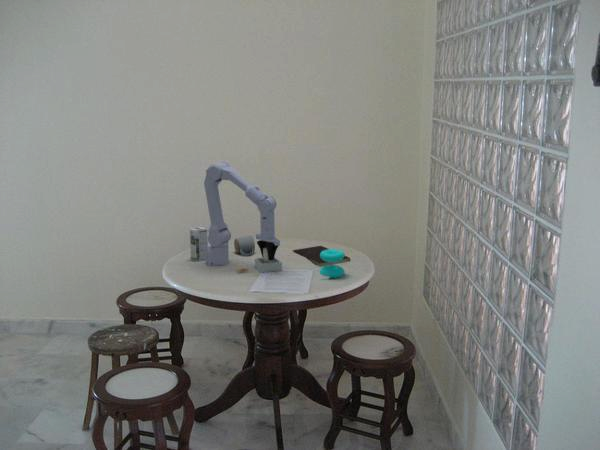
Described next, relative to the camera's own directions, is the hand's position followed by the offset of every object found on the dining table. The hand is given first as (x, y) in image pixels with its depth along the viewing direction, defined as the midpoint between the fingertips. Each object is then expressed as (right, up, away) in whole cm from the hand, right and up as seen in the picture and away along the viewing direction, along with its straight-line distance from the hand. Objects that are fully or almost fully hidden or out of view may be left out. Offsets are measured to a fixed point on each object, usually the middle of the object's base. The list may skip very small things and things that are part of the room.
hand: (268, 258), depth 274 cm
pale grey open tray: (0, -4, +1) cm, 4 cm away
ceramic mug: (-11, +1, +28) cm, 30 cm away
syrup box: (-31, -2, +18) cm, 36 cm away
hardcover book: (+22, -1, +21) cm, 31 cm away
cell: (0, -2, 0) cm, 2 cm away
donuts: (+26, -7, -4) cm, 27 cm away
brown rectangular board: (-5, -6, 0) cm, 7 cm away
